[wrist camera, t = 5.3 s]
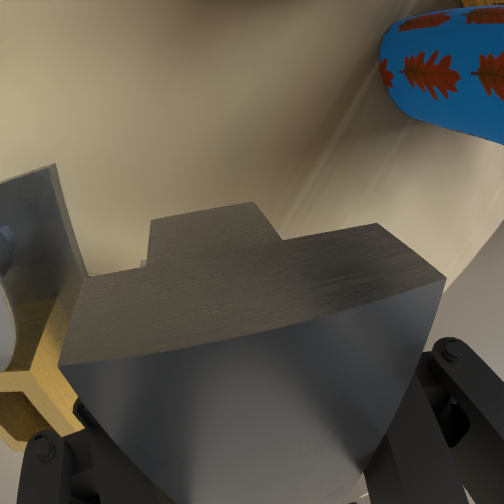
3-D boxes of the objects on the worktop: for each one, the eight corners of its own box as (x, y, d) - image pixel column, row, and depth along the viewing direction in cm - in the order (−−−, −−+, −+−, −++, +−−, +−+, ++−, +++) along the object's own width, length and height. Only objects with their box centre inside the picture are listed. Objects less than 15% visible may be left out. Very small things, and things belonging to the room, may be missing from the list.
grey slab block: (138, 156, 10) (57, 366, 2) (248, 138, 11) (447, 277, 3) (188, 357, 15) (224, 540, 7) (265, 341, 16) (336, 511, 8)
